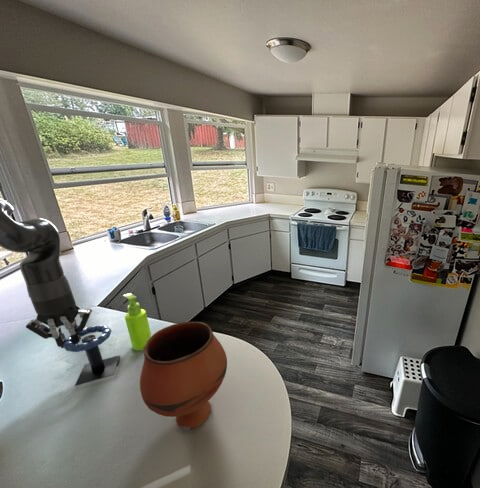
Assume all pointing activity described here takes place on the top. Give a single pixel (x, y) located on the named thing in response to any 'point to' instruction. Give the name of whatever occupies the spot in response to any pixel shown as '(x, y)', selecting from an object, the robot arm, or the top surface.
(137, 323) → the soap dispenser
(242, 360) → the top surface
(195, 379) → the goblet
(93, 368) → the ring toss peg
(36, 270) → the robot arm
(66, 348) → the ring
